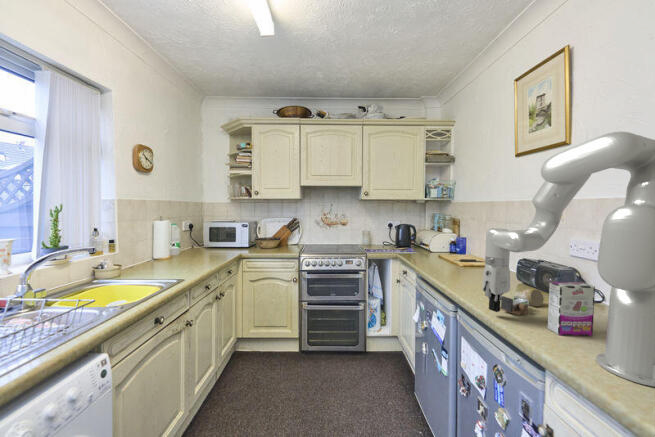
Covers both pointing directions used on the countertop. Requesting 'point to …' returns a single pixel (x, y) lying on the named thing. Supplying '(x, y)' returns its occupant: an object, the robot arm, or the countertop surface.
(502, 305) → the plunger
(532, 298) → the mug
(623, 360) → the robot arm
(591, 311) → the candy bar box
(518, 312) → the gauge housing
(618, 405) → the countertop surface
